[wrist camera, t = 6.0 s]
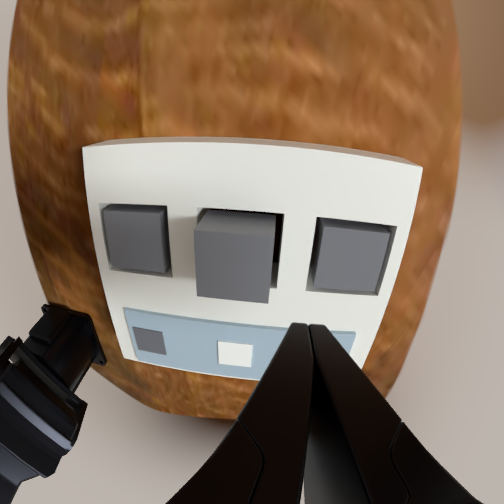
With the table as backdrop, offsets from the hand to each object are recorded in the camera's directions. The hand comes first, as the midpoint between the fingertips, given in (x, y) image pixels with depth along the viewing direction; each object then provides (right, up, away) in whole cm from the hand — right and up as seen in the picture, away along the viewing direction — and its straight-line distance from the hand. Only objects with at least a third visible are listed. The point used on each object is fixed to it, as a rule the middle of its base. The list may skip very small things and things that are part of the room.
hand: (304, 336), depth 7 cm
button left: (-8, +4, +11) cm, 14 cm away
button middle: (-2, +3, +9) cm, 10 cm away
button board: (-2, +1, +12) cm, 12 cm away
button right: (+4, +3, +10) cm, 12 cm away
